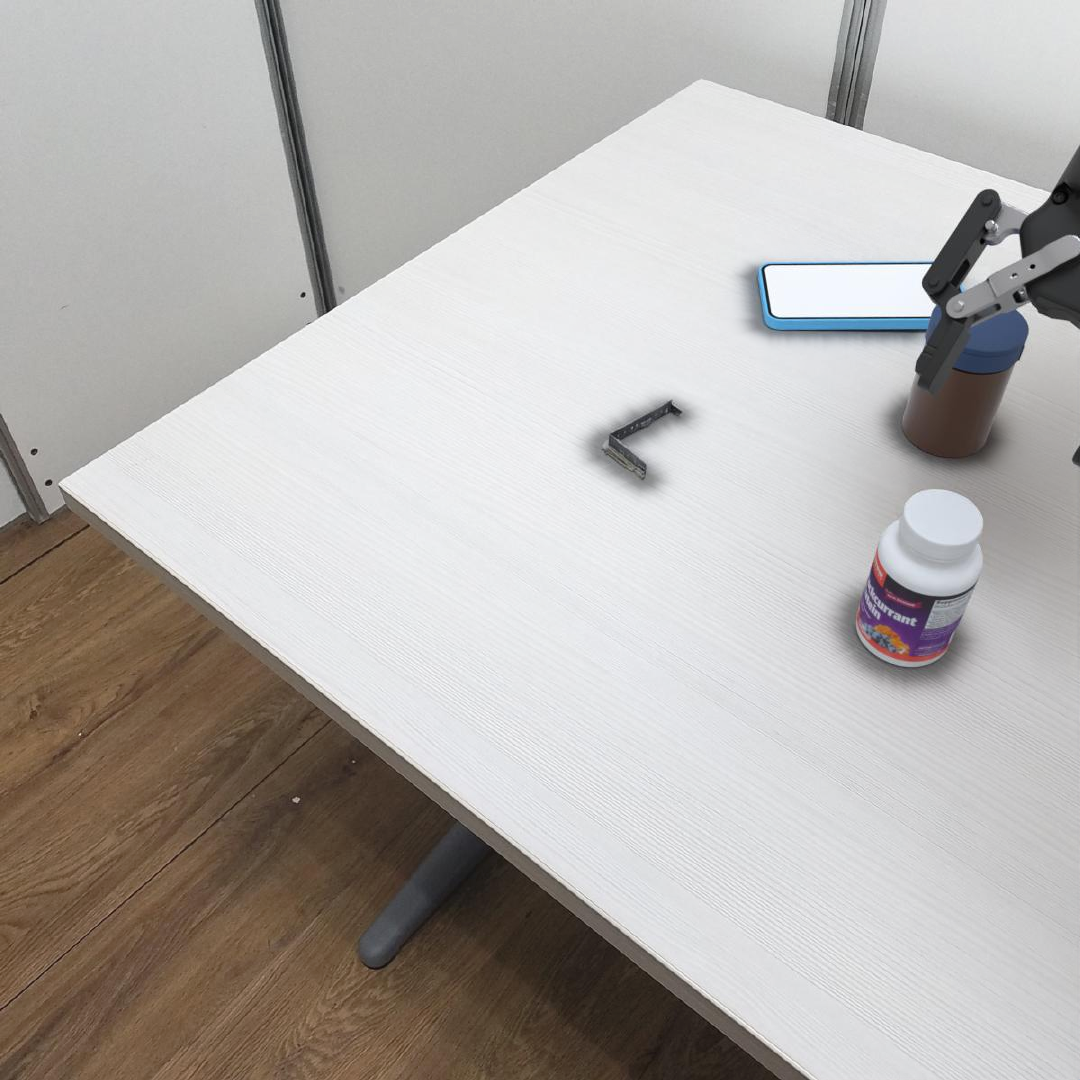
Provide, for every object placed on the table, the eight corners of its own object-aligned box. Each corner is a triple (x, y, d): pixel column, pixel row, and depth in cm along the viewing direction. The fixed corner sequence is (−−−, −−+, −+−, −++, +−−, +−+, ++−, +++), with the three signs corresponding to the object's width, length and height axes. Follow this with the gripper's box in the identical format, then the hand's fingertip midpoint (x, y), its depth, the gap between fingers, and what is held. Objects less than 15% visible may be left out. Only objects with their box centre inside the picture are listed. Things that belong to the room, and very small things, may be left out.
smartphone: (757, 262, 90) (952, 261, 89) (756, 275, 91) (949, 273, 90) (767, 320, 85) (974, 319, 84) (765, 333, 85) (970, 332, 85)
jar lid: (1035, 338, 73) (1044, 316, 71) (1001, 386, 70) (1009, 364, 68) (947, 305, 75) (953, 283, 74) (909, 350, 72) (916, 328, 71)
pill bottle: (834, 616, 67) (868, 499, 60) (907, 584, 68) (949, 465, 61) (894, 684, 64) (938, 569, 56) (969, 648, 65) (1021, 531, 58)
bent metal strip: (675, 468, 73) (597, 458, 74) (673, 483, 74) (596, 474, 75) (684, 397, 78) (611, 388, 79) (681, 412, 79) (610, 403, 80)
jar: (999, 423, 78) (1037, 322, 72) (967, 469, 75) (1004, 368, 69) (922, 392, 80) (952, 291, 74) (887, 435, 77) (916, 334, 71)
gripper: (1032, 55, 56) (862, 353, 59) (1342, 153, 50) (1134, 482, 52) (1046, 118, 63) (892, 383, 65) (1321, 212, 56) (1137, 501, 59)
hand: (1000, 427), depth 59 cm, fingers open, 8 cm apart
